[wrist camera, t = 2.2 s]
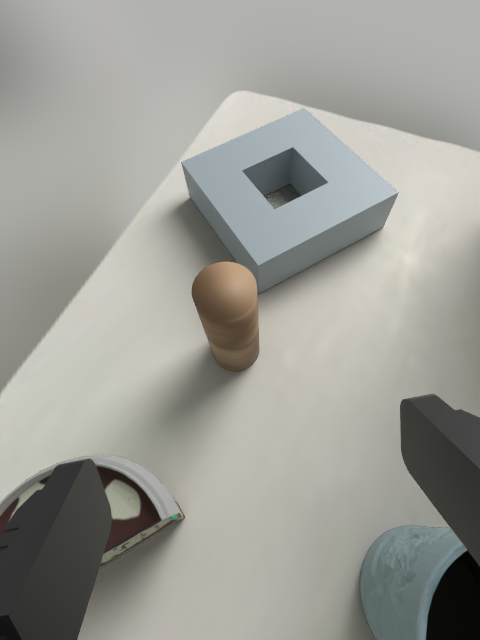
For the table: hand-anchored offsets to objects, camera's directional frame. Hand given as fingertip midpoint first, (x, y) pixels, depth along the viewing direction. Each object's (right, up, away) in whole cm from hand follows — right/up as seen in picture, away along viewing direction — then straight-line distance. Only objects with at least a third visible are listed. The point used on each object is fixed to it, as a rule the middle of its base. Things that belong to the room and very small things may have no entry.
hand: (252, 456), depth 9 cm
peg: (-1, +1, +24) cm, 24 cm away
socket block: (+5, +16, +31) cm, 36 cm away
